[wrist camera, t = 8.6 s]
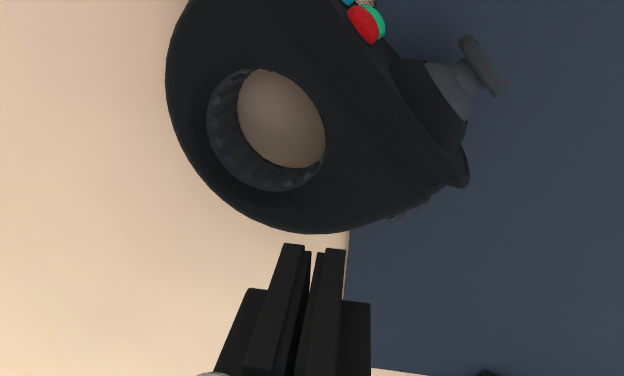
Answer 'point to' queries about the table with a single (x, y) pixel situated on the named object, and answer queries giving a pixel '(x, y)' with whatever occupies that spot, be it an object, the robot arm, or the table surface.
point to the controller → (322, 111)
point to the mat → (510, 202)
